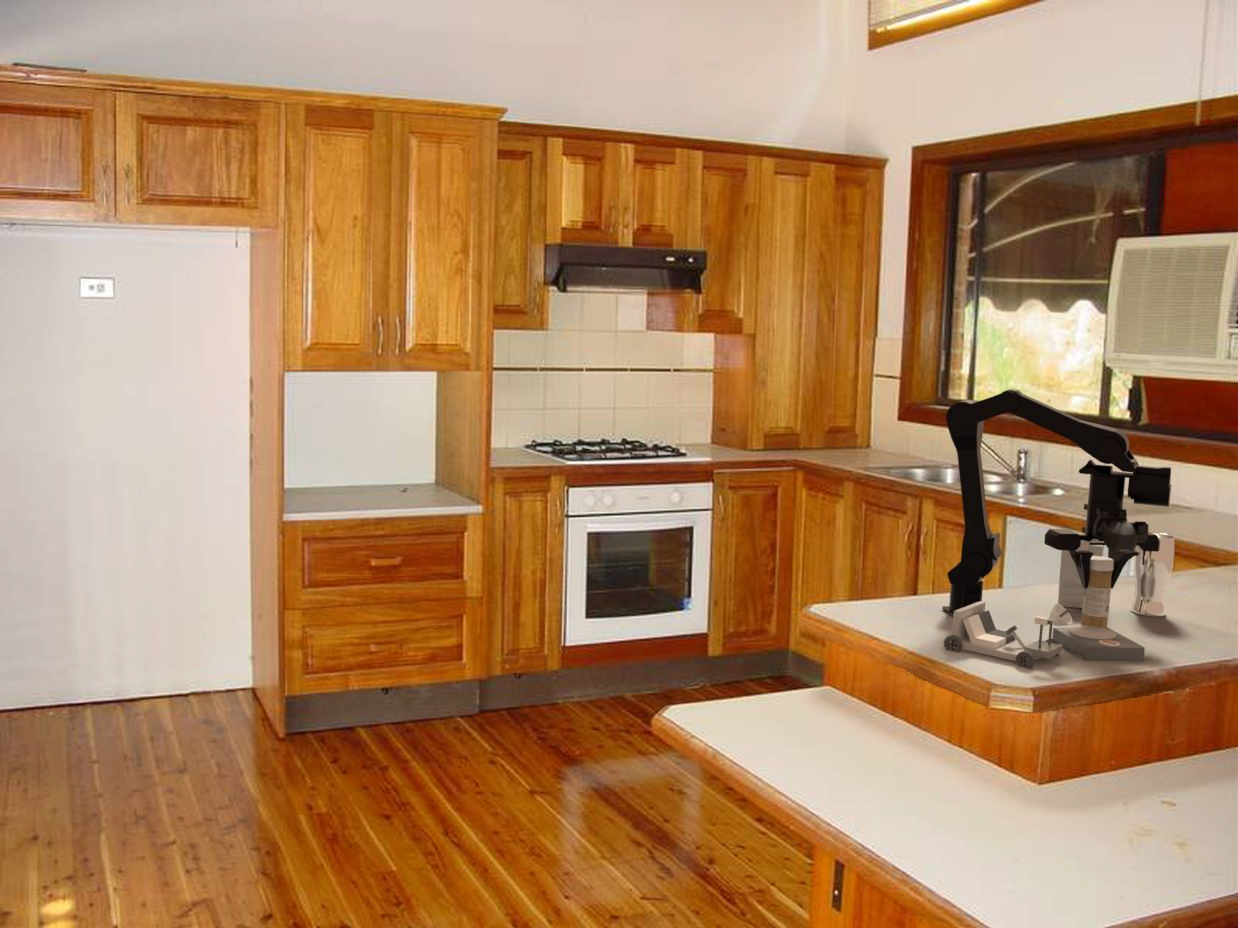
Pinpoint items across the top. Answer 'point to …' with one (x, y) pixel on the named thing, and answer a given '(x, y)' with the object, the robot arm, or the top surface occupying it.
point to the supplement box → (1073, 579)
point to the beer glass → (1153, 577)
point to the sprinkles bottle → (1097, 592)
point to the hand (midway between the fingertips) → (1097, 588)
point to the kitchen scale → (1098, 643)
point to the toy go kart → (1003, 635)
